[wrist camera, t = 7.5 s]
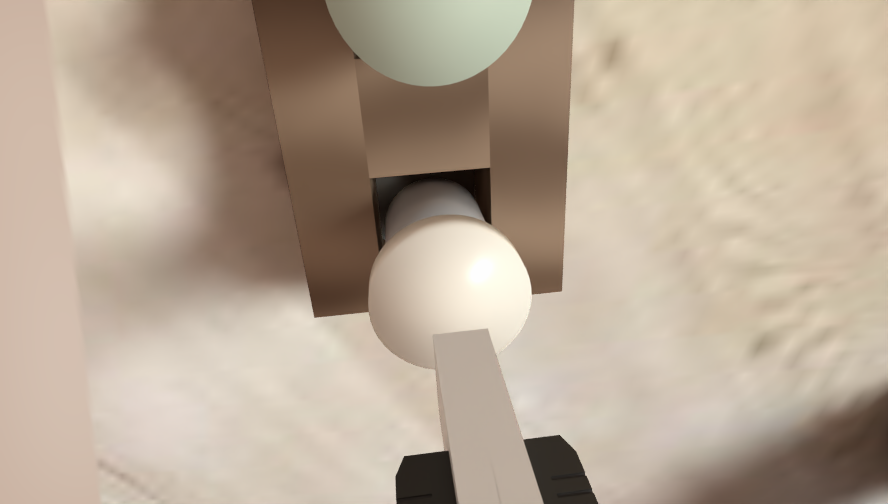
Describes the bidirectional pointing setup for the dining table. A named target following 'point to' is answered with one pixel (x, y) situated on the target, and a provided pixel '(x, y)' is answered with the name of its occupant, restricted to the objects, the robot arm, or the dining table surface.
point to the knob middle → (428, 35)
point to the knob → (444, 273)
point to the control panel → (416, 142)
